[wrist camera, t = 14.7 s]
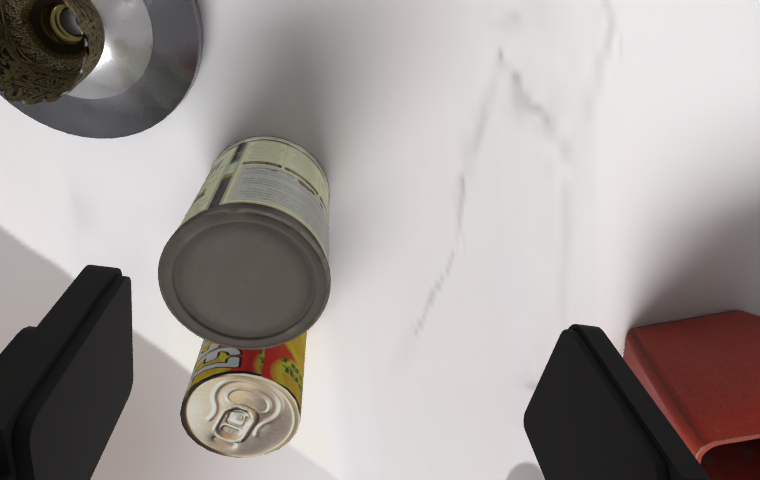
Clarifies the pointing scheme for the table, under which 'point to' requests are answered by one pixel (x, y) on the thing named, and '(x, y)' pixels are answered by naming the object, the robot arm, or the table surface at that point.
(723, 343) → the plant pot
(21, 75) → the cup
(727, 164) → the table surface
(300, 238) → the coffee can
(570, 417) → the robot arm
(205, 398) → the yellow tin can
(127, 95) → the gray dinner plate
